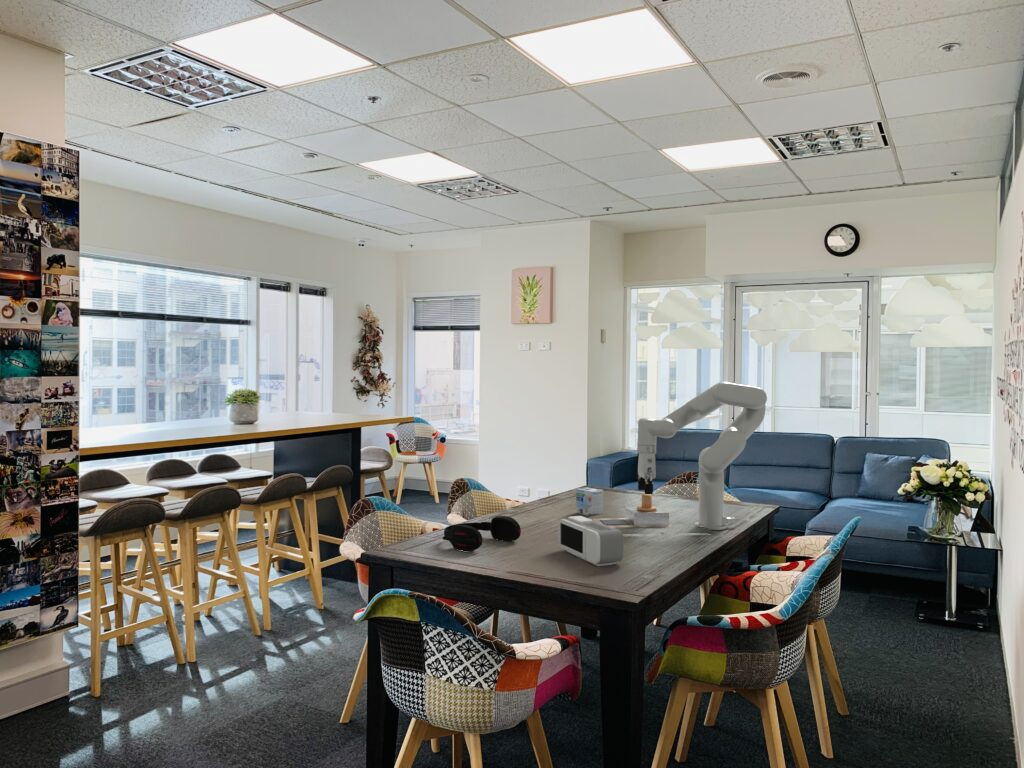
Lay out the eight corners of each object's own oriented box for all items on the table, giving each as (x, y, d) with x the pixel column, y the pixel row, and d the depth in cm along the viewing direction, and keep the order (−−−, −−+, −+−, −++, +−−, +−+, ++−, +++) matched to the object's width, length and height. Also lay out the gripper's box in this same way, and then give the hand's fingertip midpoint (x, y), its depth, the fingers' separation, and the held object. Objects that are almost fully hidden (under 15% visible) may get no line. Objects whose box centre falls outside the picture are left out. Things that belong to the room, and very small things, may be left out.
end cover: (653, 520, 315) (653, 493, 315) (658, 524, 307) (658, 496, 307) (634, 520, 314) (635, 493, 314) (639, 524, 306) (640, 496, 306)
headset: (506, 557, 256) (506, 531, 256) (431, 552, 262) (431, 526, 262) (525, 539, 283) (525, 515, 283) (456, 535, 290) (457, 512, 290)
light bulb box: (575, 513, 336) (575, 488, 336) (587, 511, 340) (587, 487, 340) (592, 516, 327) (592, 491, 327) (603, 515, 331) (604, 490, 331)
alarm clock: (558, 550, 266) (558, 515, 266) (582, 548, 270) (582, 513, 270) (597, 569, 241) (597, 530, 241) (623, 566, 245) (623, 528, 244)
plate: (659, 520, 320) (659, 505, 320) (673, 529, 302) (673, 513, 302) (592, 521, 317) (592, 506, 317) (602, 530, 300) (602, 514, 299)
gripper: (662, 451, 302) (660, 495, 302) (649, 447, 319) (648, 488, 319) (643, 451, 301) (641, 495, 302) (631, 446, 318) (630, 488, 319)
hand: (645, 492), depth 311 cm, fingers open, 9 cm apart
